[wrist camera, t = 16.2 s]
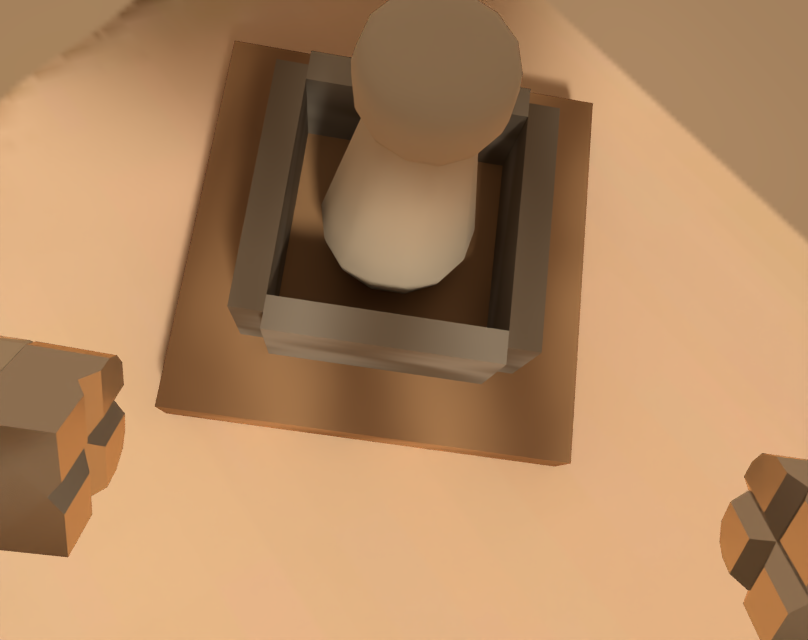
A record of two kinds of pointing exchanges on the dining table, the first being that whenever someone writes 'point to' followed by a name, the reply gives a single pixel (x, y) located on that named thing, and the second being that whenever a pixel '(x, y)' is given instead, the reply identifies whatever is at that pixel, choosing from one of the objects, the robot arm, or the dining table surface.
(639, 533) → the dining table surface
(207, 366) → the walnut socket board
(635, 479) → the dining table surface
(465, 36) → the beige round peg
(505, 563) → the dining table surface
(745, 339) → the dining table surface
